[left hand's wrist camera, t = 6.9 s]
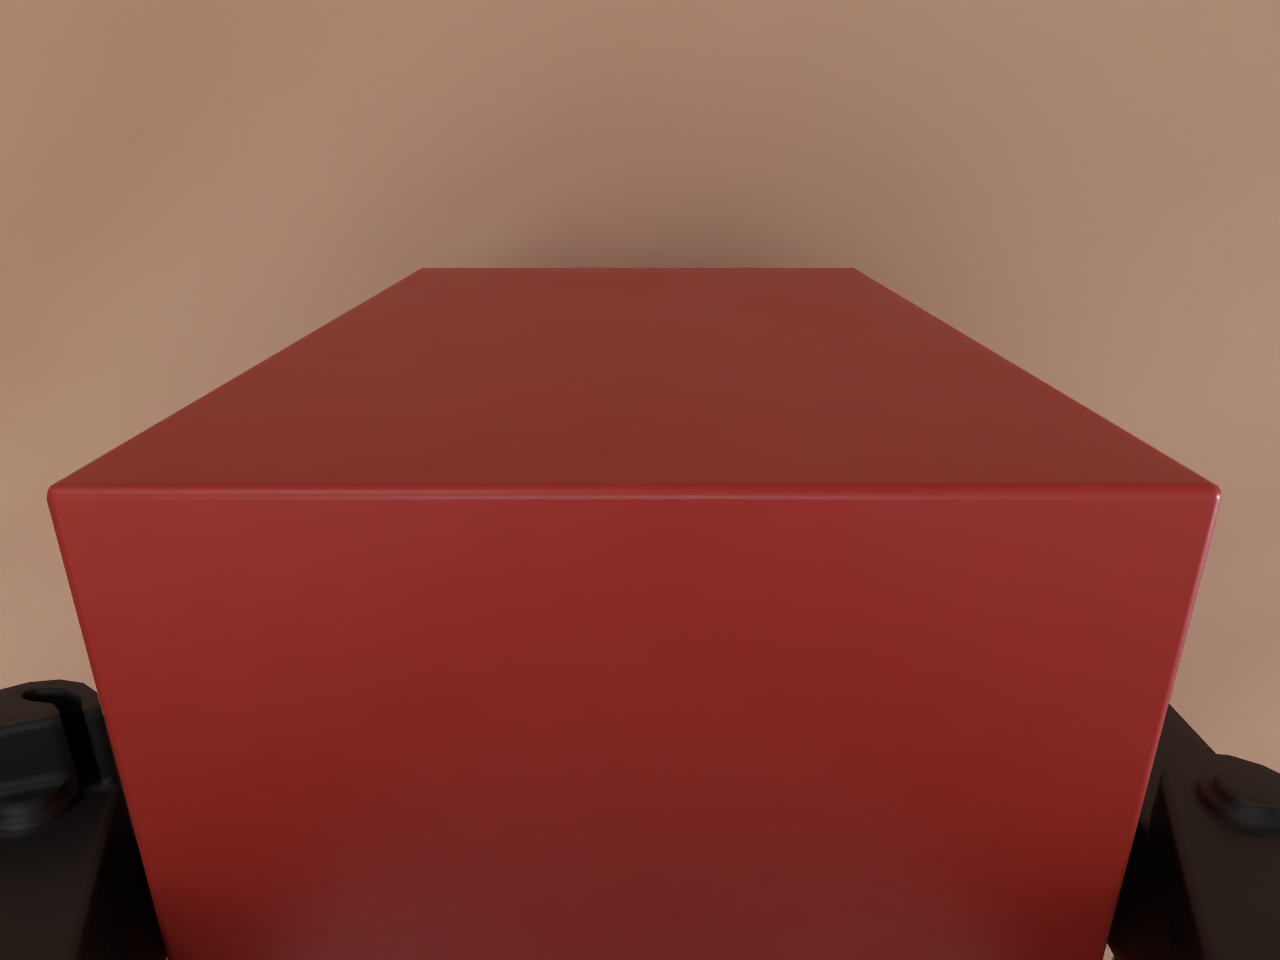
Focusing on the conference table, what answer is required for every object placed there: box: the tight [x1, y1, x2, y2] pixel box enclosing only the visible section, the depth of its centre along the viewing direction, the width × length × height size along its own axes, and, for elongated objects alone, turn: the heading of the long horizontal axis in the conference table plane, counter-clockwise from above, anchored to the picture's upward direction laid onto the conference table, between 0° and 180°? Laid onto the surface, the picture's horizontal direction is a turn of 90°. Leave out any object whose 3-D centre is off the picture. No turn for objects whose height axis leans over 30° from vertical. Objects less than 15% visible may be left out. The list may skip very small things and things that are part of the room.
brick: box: [47, 268, 1221, 960], centre depth 11 cm, size 7×8×10 cm
